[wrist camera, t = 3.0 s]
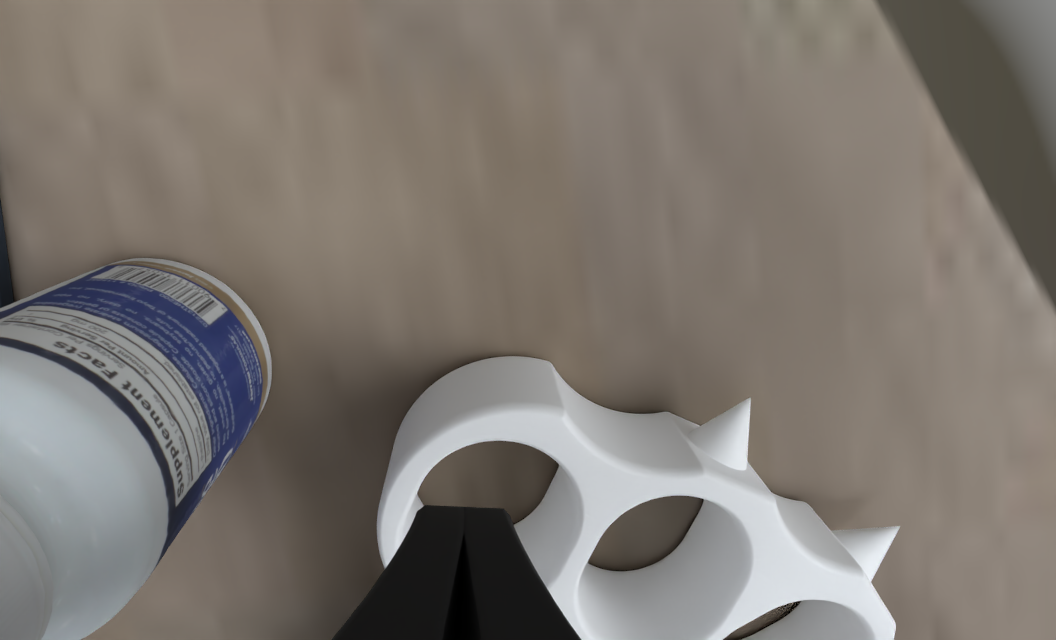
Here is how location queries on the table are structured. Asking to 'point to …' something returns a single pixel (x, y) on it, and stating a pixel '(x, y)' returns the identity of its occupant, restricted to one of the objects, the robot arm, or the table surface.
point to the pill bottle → (114, 432)
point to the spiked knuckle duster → (628, 480)
